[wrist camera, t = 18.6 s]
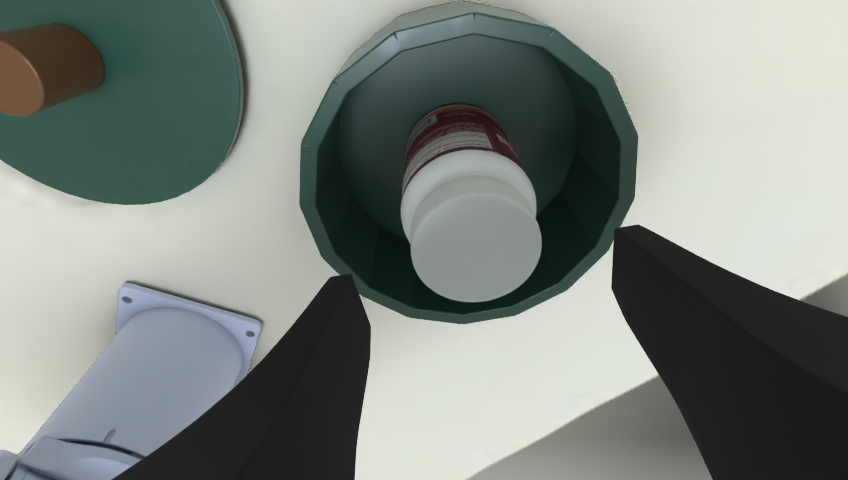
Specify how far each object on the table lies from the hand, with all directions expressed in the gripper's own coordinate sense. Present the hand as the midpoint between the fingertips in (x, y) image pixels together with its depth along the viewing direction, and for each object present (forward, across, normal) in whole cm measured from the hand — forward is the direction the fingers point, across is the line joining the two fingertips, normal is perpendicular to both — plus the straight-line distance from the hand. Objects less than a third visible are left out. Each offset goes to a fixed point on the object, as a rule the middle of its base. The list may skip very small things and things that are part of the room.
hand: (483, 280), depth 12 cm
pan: (+10, 0, 0) cm, 10 cm away
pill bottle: (+10, 0, 0) cm, 10 cm away
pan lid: (+10, +15, -7) cm, 19 cm away
